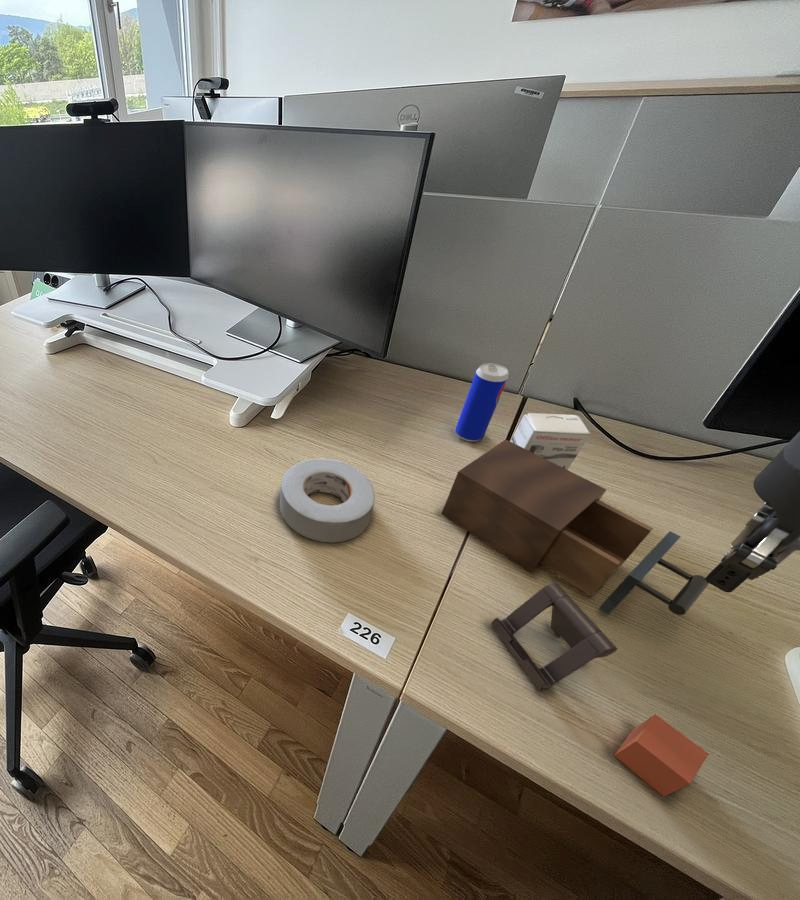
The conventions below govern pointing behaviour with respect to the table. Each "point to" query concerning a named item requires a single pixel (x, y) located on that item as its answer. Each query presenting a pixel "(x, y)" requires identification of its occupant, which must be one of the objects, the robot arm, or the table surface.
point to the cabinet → (518, 502)
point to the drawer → (614, 557)
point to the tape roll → (321, 518)
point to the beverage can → (481, 401)
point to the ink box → (552, 436)
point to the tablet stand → (564, 623)
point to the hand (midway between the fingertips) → (718, 583)
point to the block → (661, 755)
